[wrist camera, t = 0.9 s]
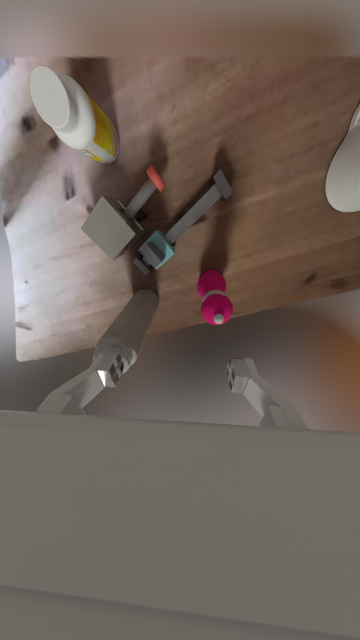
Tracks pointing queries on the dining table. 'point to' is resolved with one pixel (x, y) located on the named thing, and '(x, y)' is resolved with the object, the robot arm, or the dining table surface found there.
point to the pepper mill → (214, 297)
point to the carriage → (157, 249)
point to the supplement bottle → (73, 115)
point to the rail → (192, 215)
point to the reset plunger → (144, 193)
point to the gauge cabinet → (112, 227)
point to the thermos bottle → (129, 328)
